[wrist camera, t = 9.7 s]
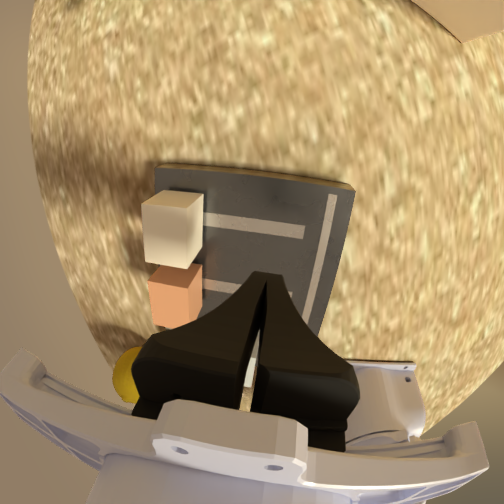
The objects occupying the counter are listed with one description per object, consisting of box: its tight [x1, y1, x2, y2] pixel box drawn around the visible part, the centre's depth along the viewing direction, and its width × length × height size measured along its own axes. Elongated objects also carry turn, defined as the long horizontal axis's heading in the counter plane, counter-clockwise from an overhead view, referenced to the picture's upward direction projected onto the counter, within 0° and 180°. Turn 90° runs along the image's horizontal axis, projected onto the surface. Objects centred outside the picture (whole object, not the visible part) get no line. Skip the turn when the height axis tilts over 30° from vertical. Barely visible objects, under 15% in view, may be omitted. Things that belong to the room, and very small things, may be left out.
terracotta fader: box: [148, 263, 202, 329], centre depth 20 cm, size 3×4×3 cm
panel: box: [155, 163, 356, 366], centre depth 23 cm, size 14×18×2 cm
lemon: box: [112, 347, 142, 403], centre depth 27 cm, size 6×6×8 cm
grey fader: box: [244, 330, 260, 387], centre depth 23 cm, size 3×4×3 cm
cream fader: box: [141, 190, 204, 269], centre depth 18 cm, size 3×4×3 cm
